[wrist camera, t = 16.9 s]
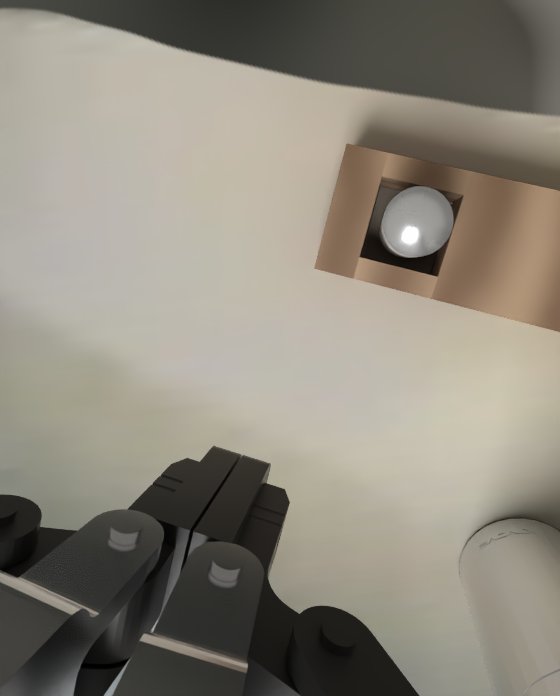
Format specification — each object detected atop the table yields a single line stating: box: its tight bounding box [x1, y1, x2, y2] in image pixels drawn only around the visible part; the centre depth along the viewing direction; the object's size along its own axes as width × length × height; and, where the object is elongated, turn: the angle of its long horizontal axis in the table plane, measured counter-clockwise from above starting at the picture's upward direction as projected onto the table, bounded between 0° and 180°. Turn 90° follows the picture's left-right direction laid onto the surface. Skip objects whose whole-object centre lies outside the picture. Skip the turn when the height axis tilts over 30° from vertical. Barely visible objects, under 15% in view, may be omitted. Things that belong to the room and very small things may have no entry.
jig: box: [314, 144, 560, 332], centre depth 33 cm, size 25×8×4 cm, turn 76°
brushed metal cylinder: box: [379, 186, 454, 258], centre depth 32 cm, size 4×4×8 cm
